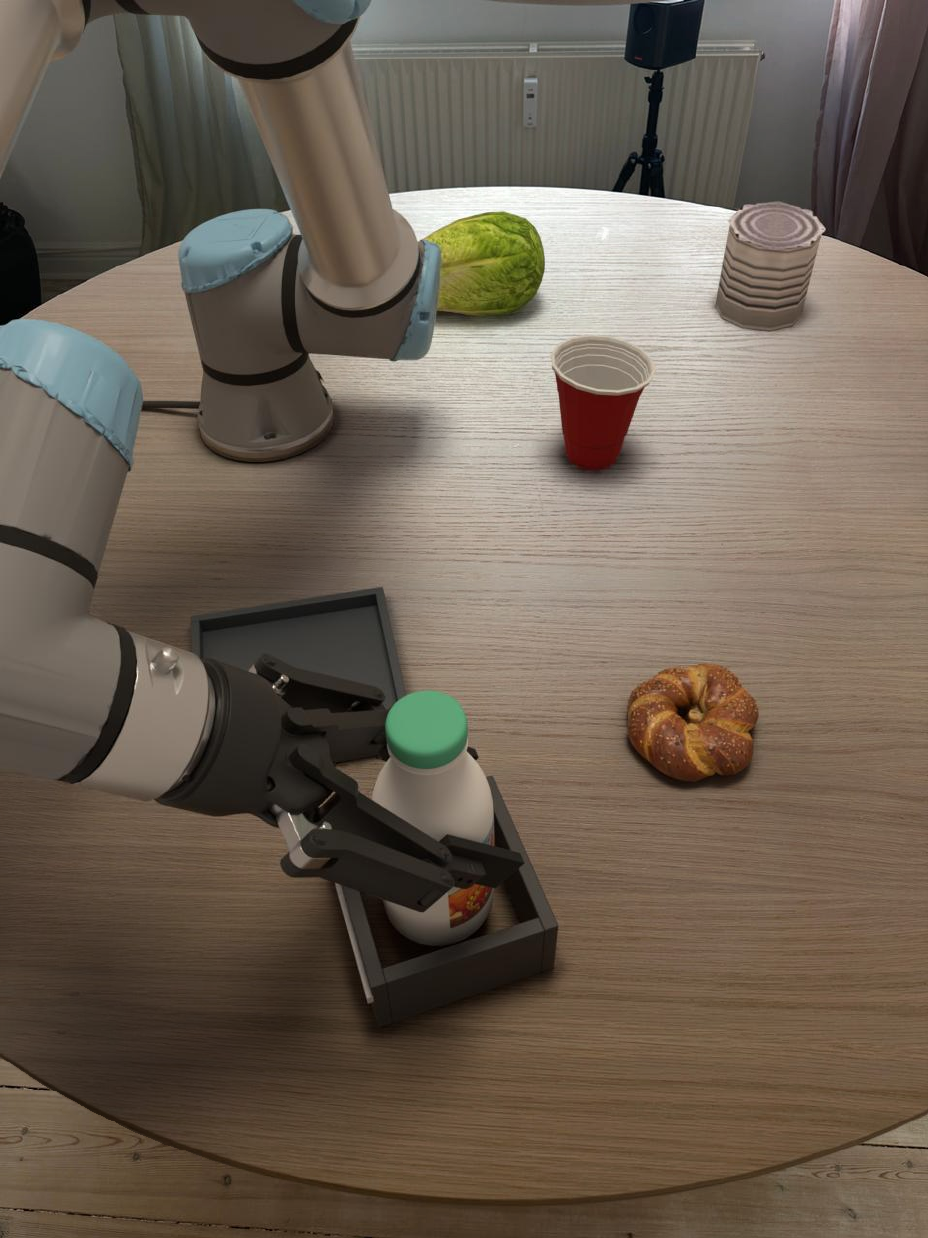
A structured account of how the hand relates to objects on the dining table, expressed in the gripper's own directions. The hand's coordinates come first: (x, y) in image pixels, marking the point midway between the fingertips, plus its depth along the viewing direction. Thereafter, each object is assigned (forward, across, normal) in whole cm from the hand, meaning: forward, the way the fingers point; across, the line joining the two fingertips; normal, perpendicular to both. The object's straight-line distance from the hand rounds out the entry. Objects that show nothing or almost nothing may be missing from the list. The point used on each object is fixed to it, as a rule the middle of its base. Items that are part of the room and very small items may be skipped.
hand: (484, 815), depth 63 cm
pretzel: (+23, +9, -7) cm, 26 cm away
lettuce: (+27, +84, -11) cm, 89 cm away
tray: (+2, +24, +14) cm, 28 cm away
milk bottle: (+4, 0, +9) cm, 9 cm away
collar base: (+5, 0, +10) cm, 11 cm away
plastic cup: (+29, +47, -13) cm, 56 cm away
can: (+53, +69, -37) cm, 94 cm away
